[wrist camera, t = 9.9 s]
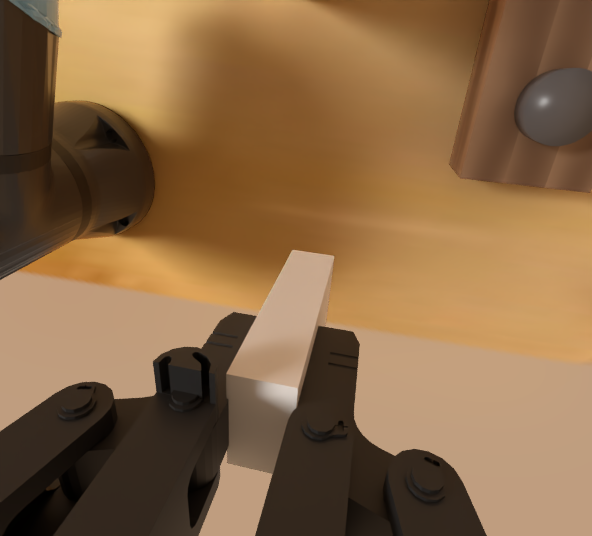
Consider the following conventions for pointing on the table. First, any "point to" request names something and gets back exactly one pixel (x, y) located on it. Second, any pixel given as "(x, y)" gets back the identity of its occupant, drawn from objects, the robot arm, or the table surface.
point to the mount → (507, 87)
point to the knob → (556, 107)
